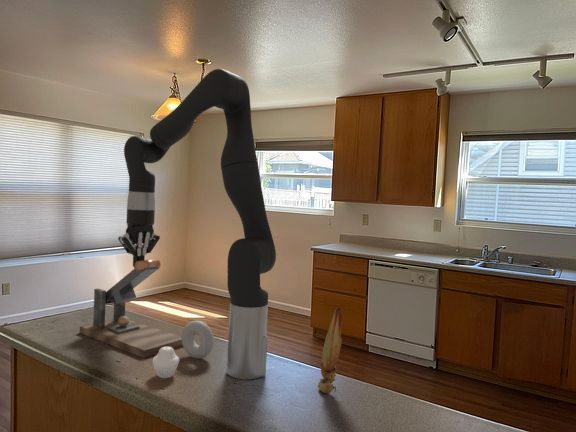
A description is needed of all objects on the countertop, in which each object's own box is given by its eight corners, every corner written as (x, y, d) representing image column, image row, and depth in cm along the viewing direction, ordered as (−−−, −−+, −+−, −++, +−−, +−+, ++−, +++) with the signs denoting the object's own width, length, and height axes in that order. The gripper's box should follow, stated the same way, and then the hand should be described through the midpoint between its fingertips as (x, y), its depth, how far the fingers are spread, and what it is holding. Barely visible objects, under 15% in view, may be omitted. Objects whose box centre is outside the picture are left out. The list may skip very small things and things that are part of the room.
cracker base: (185, 345, 127) (187, 299, 127) (144, 358, 116) (146, 308, 115) (120, 323, 144) (122, 283, 144) (79, 332, 133) (81, 289, 132)
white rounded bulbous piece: (184, 375, 107) (185, 346, 106) (163, 383, 101) (165, 352, 101) (166, 368, 110) (168, 340, 110) (146, 375, 105) (147, 346, 105)
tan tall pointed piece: (332, 403, 96) (337, 311, 95) (309, 397, 98) (315, 307, 97) (341, 391, 102) (347, 304, 102) (320, 386, 105) (325, 301, 104)
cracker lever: (165, 276, 126) (158, 257, 128) (146, 279, 121) (139, 259, 123) (120, 310, 138) (114, 292, 140) (101, 314, 133) (95, 295, 135)
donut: (177, 356, 119) (179, 318, 118) (186, 352, 122) (188, 316, 121) (207, 364, 114) (209, 325, 113) (215, 360, 117) (217, 322, 116)
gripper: (129, 208, 120) (126, 273, 120) (168, 209, 131) (165, 268, 131) (112, 207, 124) (109, 269, 125) (151, 207, 135) (149, 264, 136)
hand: (138, 268), depth 128 cm, fingers closed
